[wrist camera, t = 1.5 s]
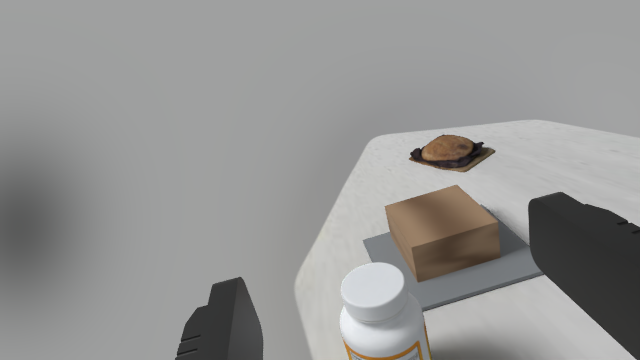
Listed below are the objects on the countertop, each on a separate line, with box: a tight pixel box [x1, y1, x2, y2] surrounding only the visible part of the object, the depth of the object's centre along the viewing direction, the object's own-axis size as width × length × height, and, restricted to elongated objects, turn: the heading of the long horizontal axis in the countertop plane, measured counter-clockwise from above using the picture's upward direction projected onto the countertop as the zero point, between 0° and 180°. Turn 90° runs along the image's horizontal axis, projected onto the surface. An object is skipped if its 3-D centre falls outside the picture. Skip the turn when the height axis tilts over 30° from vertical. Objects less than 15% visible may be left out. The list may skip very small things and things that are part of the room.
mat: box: [363, 205, 544, 311], centre depth 39 cm, size 14×12×1 cm
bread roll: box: [409, 135, 495, 172], centre depth 58 cm, size 11×8×4 cm
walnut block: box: [385, 185, 501, 283], centre depth 39 cm, size 8×8×4 cm
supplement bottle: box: [340, 262, 432, 360], centre depth 26 cm, size 5×5×10 cm
